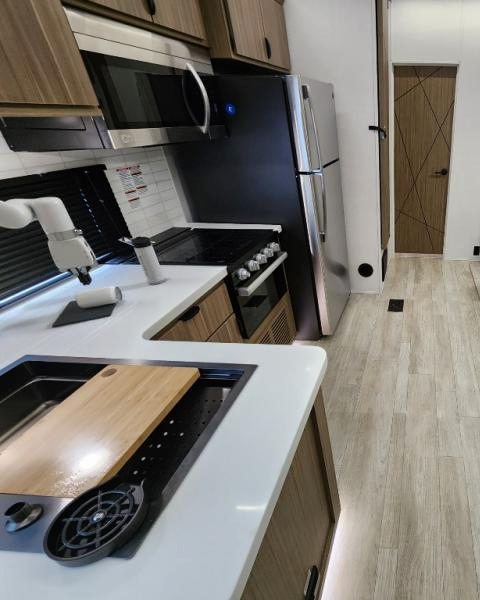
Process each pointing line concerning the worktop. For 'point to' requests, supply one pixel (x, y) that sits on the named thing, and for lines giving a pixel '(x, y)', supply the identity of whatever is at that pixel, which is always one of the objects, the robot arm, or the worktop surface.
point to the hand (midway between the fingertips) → (87, 283)
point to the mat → (82, 313)
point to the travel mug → (148, 260)
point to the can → (98, 296)
